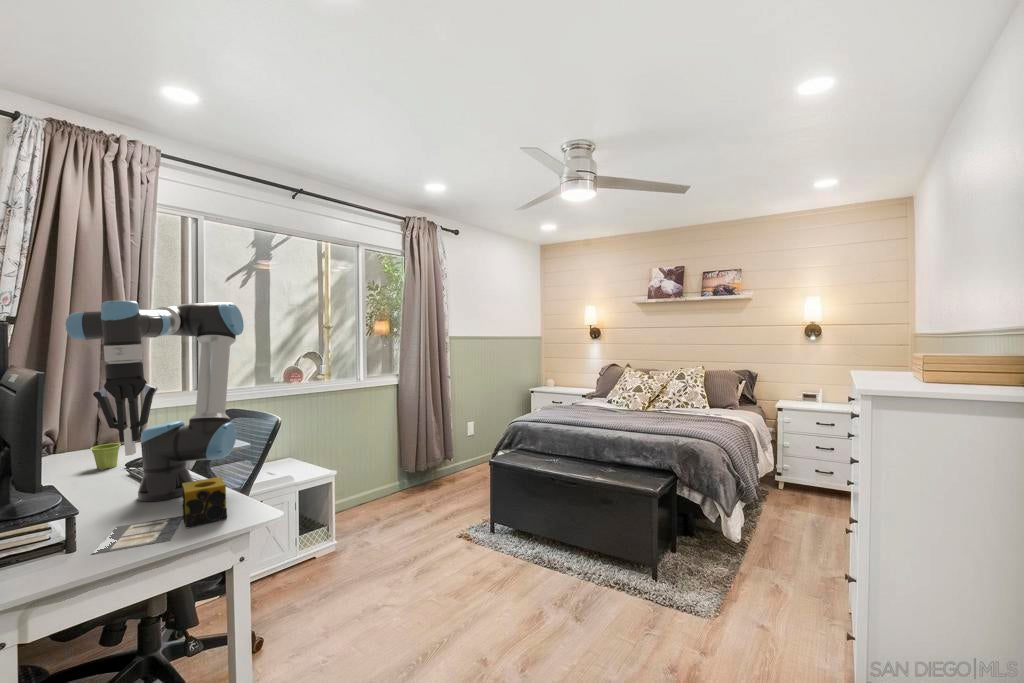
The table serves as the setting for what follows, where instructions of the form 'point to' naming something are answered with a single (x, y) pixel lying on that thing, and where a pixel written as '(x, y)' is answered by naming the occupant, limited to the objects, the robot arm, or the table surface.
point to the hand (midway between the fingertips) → (130, 454)
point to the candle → (204, 501)
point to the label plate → (143, 533)
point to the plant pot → (106, 455)
